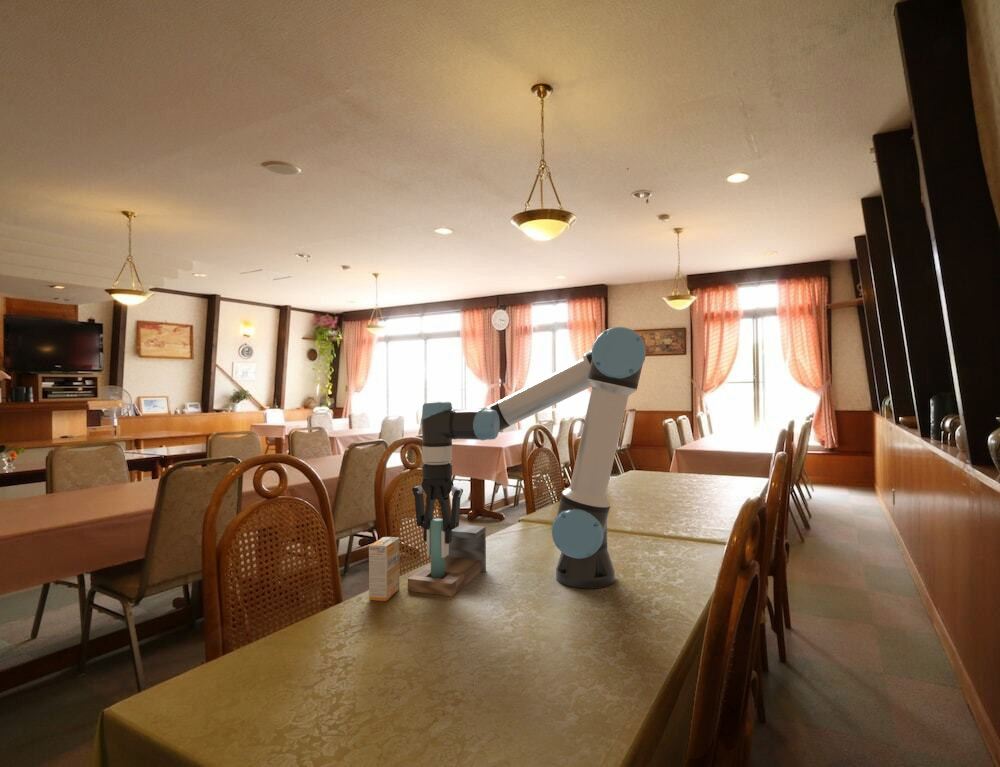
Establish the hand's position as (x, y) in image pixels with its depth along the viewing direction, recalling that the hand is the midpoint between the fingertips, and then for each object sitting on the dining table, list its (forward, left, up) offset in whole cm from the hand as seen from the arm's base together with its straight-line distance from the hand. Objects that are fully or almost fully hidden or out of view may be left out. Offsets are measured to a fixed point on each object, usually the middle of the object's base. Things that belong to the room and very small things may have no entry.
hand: (437, 554), depth 138 cm
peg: (0, 0, -5) cm, 5 cm away
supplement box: (+10, +9, -8) cm, 16 cm away
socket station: (0, -4, -8) cm, 9 cm away
